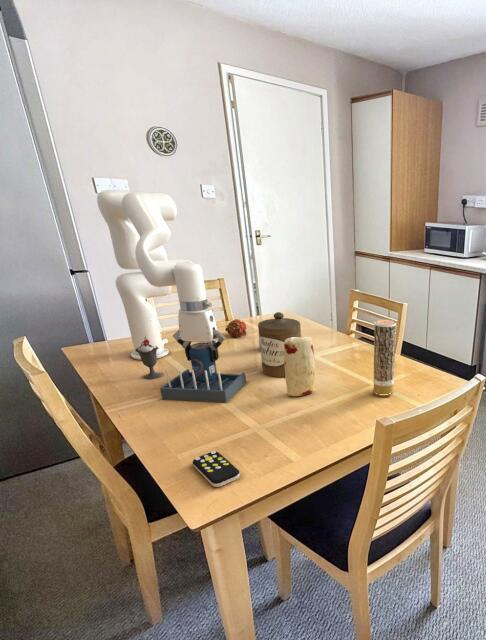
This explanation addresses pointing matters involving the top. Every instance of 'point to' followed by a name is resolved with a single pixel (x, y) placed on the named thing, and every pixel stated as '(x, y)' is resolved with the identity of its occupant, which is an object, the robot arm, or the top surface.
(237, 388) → the dish rack
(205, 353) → the soda can
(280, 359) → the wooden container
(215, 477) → the remote control
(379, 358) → the wooden log
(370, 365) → the top surface
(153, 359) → the sundae
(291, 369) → the food model
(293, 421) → the top surface
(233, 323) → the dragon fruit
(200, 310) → the robot arm
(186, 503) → the top surface
